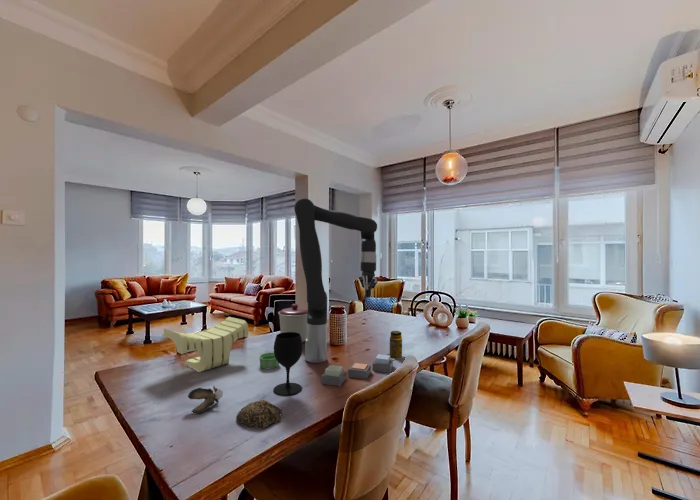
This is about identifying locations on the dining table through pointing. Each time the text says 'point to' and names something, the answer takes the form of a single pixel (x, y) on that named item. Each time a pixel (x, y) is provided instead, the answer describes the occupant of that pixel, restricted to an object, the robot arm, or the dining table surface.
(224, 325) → the slatted curved stool
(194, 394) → the eagle figurine
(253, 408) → the brown low domed lump
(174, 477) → the dining table surface
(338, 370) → the sage green button
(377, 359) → the dusty blue button
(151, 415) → the dining table surface
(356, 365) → the terracotta button
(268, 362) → the ramekin
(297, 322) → the canister
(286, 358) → the wine glass
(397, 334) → the condiment
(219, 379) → the dining table surface
